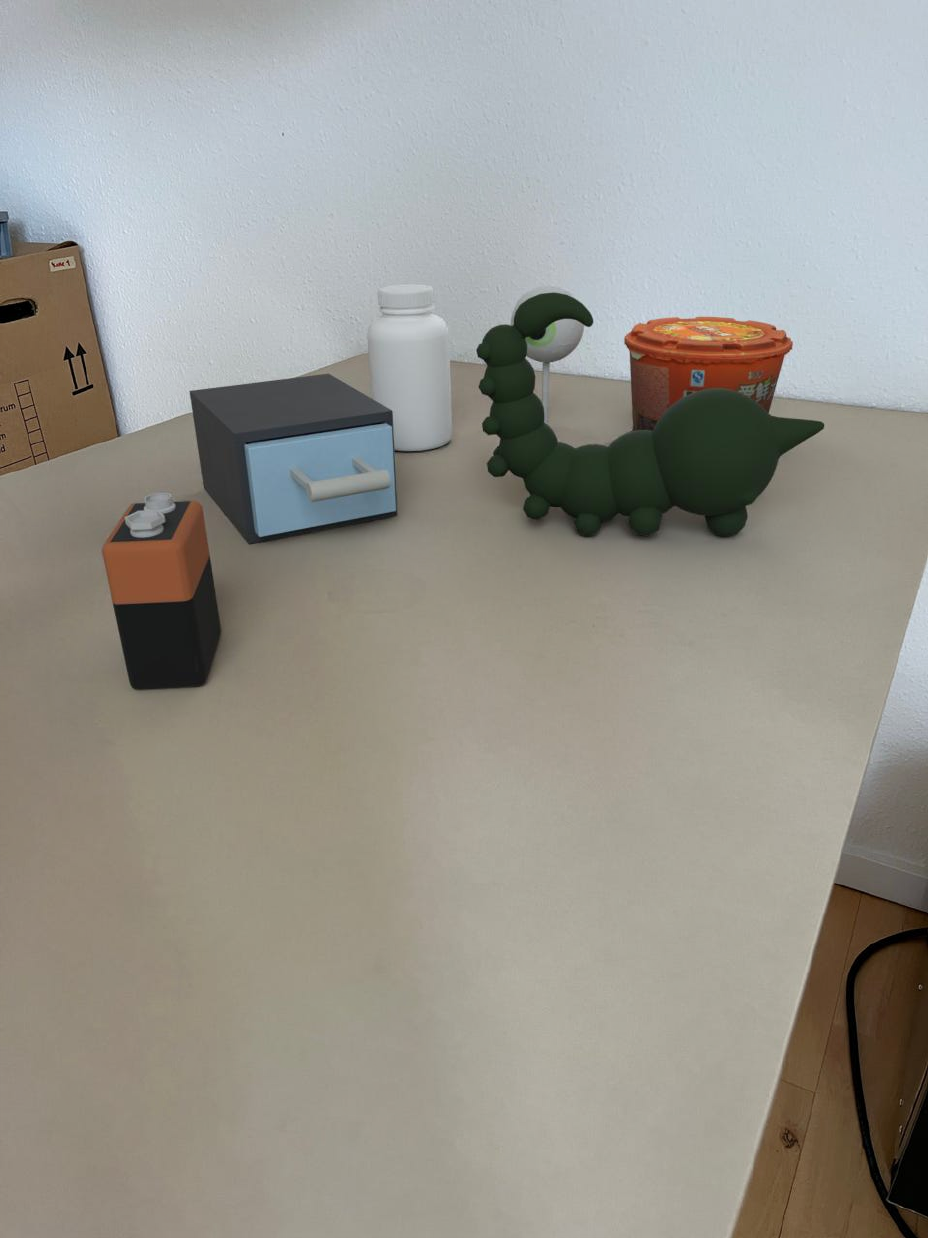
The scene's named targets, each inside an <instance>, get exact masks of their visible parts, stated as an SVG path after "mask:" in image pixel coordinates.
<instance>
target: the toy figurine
mask: <svg viewBox="0 0 928 1238" xmlns="http://www.w3.org/2000/svg"><path fill="white" fill-rule="evenodd" d="M575 298H576V297H575ZM575 298H573V297H571V296H569V295H566V294H561V293H555V292H553V293H543V294H539V295H536V296H534V297H531V298H529V299H527V300H526V301H524V302H523V303H522V304H520V306H519V307H518V309H517V310H516V312H515V316H514V324H513V326H511V324H499V325H495V326H493V327H491V328H490V329H489V330H488V331H487V332H486V333H485V334H484V336H483V338H482V341H481V343H479V344H478V345H477V348H476V349H475V351H476V355H477V358H479V359H480V360H483V362H484V363H485V364H486V369H485V371H484V374H483V378H481V379H480V381H479V384H478V388H479V391H480V392H481V394H482V395H484V396H487V397H488V398H489V399H490V400H491V401H492V404H491V405H490V410H489V415H488V416H486V417H485V418H484V420H483V421H482V422H481V427H482V431H483V432H484V433H485V434H486V435H487V436H494V435H495V436H497V437H498V438H499V443H498V445H497V446H496V448H495V449H494V451H493V452H492V456H491V457H489V459H488V460H487V463H486V466H487V472H488V473H489V474H490V475H491V476H492V477H493V478H501V477H504V476H506V474H507V473H508V472H509V473H511V474H512V475H513V476H515V477H517V478H521V479H522V480H523V484H524V487H525V490H526V491H527V492H528V494H529V496H527V497H525V499H524V503H523V507H522V510H523V512H524V514H525V515H526V517H527V518H528V519H531V520H534V521H538V520H540V519H542V518H544V517H546V516H548V514H549V511H550V508H560V509H561V510H562V511H563V512H564V513H565V514H566V515H567V516H569V517H571V518H572V519H574V521H573V523H574V527H575V530H576V533H579V534H581V536H584V537H590V536H595V535H596V534H597V533H598V532H599V531H600V529H601V527H602V523H603V522H608V521H611V520H612V519H613V518H616V516H618V515H622V516H623V517H627V518H628V523H627V524H628V526H629V527H630V529H631V530H632V531H633V532H634V534H635V535H640V536H646V537H649V536H651V535H652V534H654V533H656V532H658V531H659V530H660V527H661V523H662V519H663V514H665V513H667V512H669V511H670V510H671V509H672V508H674V507H677V508H678V509H680V510H682V511H684V512H687V513H690V514H693V515H697V516H704V520H705V523H706V527H707V529H708V530H710V531H711V532H712V533H714V535H716V536H721V537H726V538H728V537H732V536H736V535H738V533H739V532H741V530H743V529H744V528H745V527H746V523H747V520H748V518H749V517H748V510H747V507H748V506H750V505H752V504H753V503H754V502H755V501H756V500H757V499H758V497H760V496H761V495H762V493H764V491H765V490H766V488H767V487H768V486H769V484H770V483H771V481H772V479H773V477H774V475H775V472H776V470H777V467H778V465H779V459H780V458H781V457H782V456H783V455H785V454H786V453H787V452H789V451H791V450H792V449H794V448H795V447H797V446H799V445H801V444H802V443H804V442H805V441H807V440H809V439H811V438H812V437H814V436H815V435H817V434H819V433H820V432H821V431H823V430H824V428H825V423H824V422H822V421H821V420H813V419H806V418H805V419H803V418H793V417H783V416H777V415H776V416H775V415H771V414H770V412H769V413H768V412H767V411H766V410H765V409H764V408H763V407H762V406H761V405H760V404H759V403H757V402H756V401H755V400H753V399H752V398H750V397H748V396H746V395H744V394H742V393H740V392H737V391H733V390H729V389H723V388H711V389H704V390H701V391H697V392H694V393H692V394H689V395H687V396H685V397H683V398H681V399H679V400H678V401H677V402H675V403H674V404H673V405H672V406H670V407H669V408H668V409H667V410H666V411H665V412H664V414H663V415H662V416H661V417H660V419H659V420H658V422H657V423H656V425H655V427H654V429H653V431H651V430H636V431H633V430H632V431H629V432H626V433H624V434H622V435H620V436H618V437H617V438H616V439H614V440H613V441H612V442H611V443H610V444H609V445H608V446H607V445H604V444H598V443H587V444H584V445H580V446H578V447H574V446H573V445H571V444H569V443H566V442H561V441H558V437H557V435H556V433H555V432H554V429H552V427H551V426H550V425H549V424H548V425H547V424H546V423H544V420H545V416H544V407H543V404H542V399H540V397H539V396H538V395H537V394H536V393H534V391H535V389H536V387H535V386H536V373H535V369H534V367H533V366H532V363H531V362H530V361H529V360H528V359H527V356H526V355H527V342H526V339H525V338H526V337H532V336H535V335H537V334H539V333H541V332H542V331H544V330H545V329H546V328H547V327H548V326H549V325H550V324H552V323H553V322H555V321H558V320H562V319H573V320H577V321H578V322H580V323H582V324H583V325H584V327H587V328H591V327H592V326H593V324H594V318H593V315H592V313H591V312H590V311H589V309H588V308H587V307H586V306H585V305H584V304H583V302H581V301H580V300H579V299H577V298H576V299H575Z"/></svg>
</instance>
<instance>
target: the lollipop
mask: <svg viewBox="0 0 928 1238" xmlns="http://www.w3.org/2000/svg"><path fill="white" fill-rule="evenodd" d="M553 292H555V293H561V294H566V295H569V296H571V297H573V298H575V299H577V298H576V297H575V296H574V294H572V293H571V292H570V291H569V290H567V289H566V288H563V287H561V286H556V285H550V284H546V285H540V286H537V287H533V288H532V289H530V290H528V291H527V292H525V293H524V294H523V295H521V296H520V297H519V299H518V300H517V302H516V304H515V306H514V307H513V311H512V314H511V317H510V325H511V326H513V324H514V316H515V312H516V310H517V309H518V307H519V306H520V304H522V303H523V302H524V301H526V300H527V299H529V298H531V297H534V296H536V295H539V294H543V293H553ZM584 331H585V325H583V324H582V323H580V322H578V321H577V320H573V319H562V320H558V321H555V322H553V323H552V324H550V325H549V326H548V327H547V328H546V329H545V330H544V331H542V332H541V333H539V334H537V335H535V336H532V337H526V338H525V339H526V342H527V355H526V358H529V359H531V360H532V361H535V362H538V363H542V373H541V375H542V376H541V378H542V379H541V402H542V404H543V407H544V416H545V420H544V423H546V424H547V425H548V426H549V403H550V401H549V397H550V368H551V367H550V366H551V363H555V362H557V361H558V362H559V361H561V360H563V359H565V358H566V357H568V356H569V355H570V354H571V353H573V352H574V351H575V349H576V348H577V347H578V345H579V344H580V343H581V341H582V338H583V335H584Z"/></svg>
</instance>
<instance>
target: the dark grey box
mask: <svg viewBox="0 0 928 1238" xmlns="http://www.w3.org/2000/svg"><path fill="white" fill-rule="evenodd" d="M188 392H189V398H190V404H191V411H192V416H193V418H192V419H193V423H194V424H193V425H194V430H195V438H196V444H197V445H196V446H197V451H198V457H199V465H200V471H201V479H202V484H203V489H204V490H205V492H206V493H207V494H208V495H209V497H210V498H211V499H212V500H213V502H214V503H215V504H216V505H217V506H218V508H219V509H220V510H221V512H222V513H223V515H225V516H226V518H227V519H228V520H229V522H230V523H231V524H232V525H233V527H234V528H235V529H236V530H237V532H238V533H239V534H240V535H241V536H242V538H243V539H244V540H245V541H246V542H247V544H248V545H252V544H257V543H262V542H263V543H264V542H267V541H273V540H278V539H282V538H287V537H293V536H298V535H303V534H309V533H314V532H319V531H325V530H330V529H335V528H339V527H340V528H341V527H344V526H345V527H346V526H350V525H355V524H361V523H365V522H370V521H377V520H381V519H386V518H392V517H396V516H398V498H397V497H398V496H397V495H398V494H397V476H396V457H395V456H396V454H395V450H394V433H393V421H392V420H393V411H392V410H390V409H389V408H387V407H385V406H384V405H382V404H380V403H378V402H377V401H375V400H373V399H372V397H370V396H368V395H366V394H365V393H364V392H361V391H359V390H358V389H356V388H354V387H353V386H351V385H349V384H347V383H346V382H344V381H342V380H341V379H339V378H337V377H335V376H334V375H332V374H331V373H323V374H322V373H321V374H314V375H305V376H298V377H291V378H290V377H289V378H282V379H281V378H280V379H274V380H273V379H272V380H265V381H257V382H249V383H242V384H241V383H240V384H233V385H227V386H226V385H225V386H218V387H208V388H202V389H193V390H189V391H188ZM385 423H386V424H388V425H390V426H391V427H392V438H393V458H394V478H395V498H396V511H393V512H388V513H383V514H378V515H372V516H367V517H362V518H357V519H352V520H346V521H341V522H336V523H331V524H326V525H320V526H315V527H310V528H305V529H299V530H294V531H289V532H284V533H279V534H273V535H268V536H263V537H259V536H258V535H257V534H256V532H255V527H254V519H253V511H252V503H251V495H250V487H249V479H248V471H247V463H246V455H245V447H244V445H245V444H246V442H252V441H259V440H266V439H272V438H279V437H286V436H292V435H299V434H306V433H312V432H319V431H326V430H333V429H339V428H346V427H353V426H359V425H366V424H372V425H378V424H385Z"/></svg>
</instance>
